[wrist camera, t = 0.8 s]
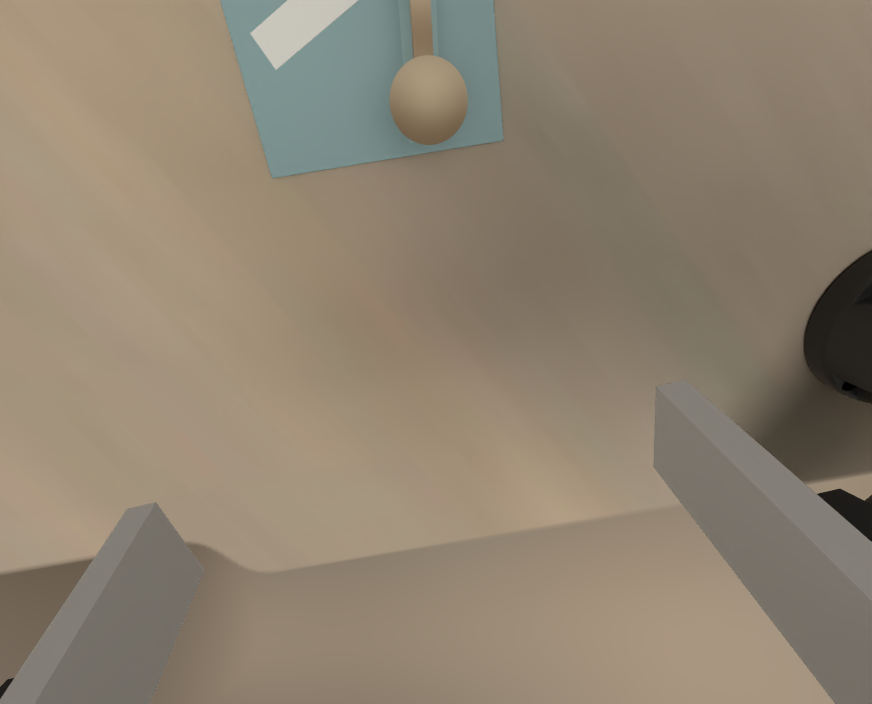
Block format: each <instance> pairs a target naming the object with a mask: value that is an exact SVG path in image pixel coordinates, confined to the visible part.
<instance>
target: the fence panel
mask: <svg viewBox="0 0 872 704" xmlns="http://www.w3.org/2000/svg"><path fill="white" fill-rule="evenodd" d="M409 2H410V17H411V31H412V46H413V59H412V60H410V61H408V62H407V63H406V64H405V65H403V66H402V67H401V69H400V70H399V71H398V73H397V74H396V76H395V78H394V80H393V83H392V86H391V90H390V98H389V99H390V110H391V114H392V117H393V119H394V122H395V124H396V125H397V127H398V128H399V130H400V131H401V132H402V133H403V134H404V135H405V136H406V137H407V138H409V139H410V140H412V141H414V142H416V143H419V144H423V145H435V144H439V143H442V142H444V141H446V140H448V139H449V138H451V137H452V136H453V135H454V134H455V133H456V132H457V131H458V130H459V128H460V127H461V125H462V123H463V121H464V119H465V116H466V112H467V107H468V94H467V89H466V85H465V82H464V80H463V78H462V76H461V74H460V73H459V71H458V70H457V69H456V68H455V67H454V66H453V65H452V64H451V63H450V62H448V61H447V60H445V59H443V58H441V57H438V56H433V39H432V20H431V0H409Z"/></svg>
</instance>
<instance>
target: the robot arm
mask: <svg viewBox="0 0 872 704" xmlns="http://www.w3.org/2000/svg"><path fill="white" fill-rule="evenodd" d="M805 355H806V360H807V363H808V365H809V367H810V369H811V371H812V372H813V374H814V375H815V376H816V377H817V378H818V379H819V380H820V381H822V382H823V383H825V384H827V385H828V386H830V387H832V388H833V389H835V390H837V391H838V392H840V393H842V394H843V395H846V396H848V397H850V398H853V399H856V400H860V401H863V402H867V403H871V404H872V252H870V253H869V254H867V255H866V256H864V257H863V258H861V259H860V260H858V261H857V262H856V263H854V264H853V265H852V266H851V267H850V268H848V269H847V270H846V271H845V272H844V273H843V274H842V275H841V276H840V277H839V278H838V279H837V280H836V281H835V282H834V283H833V284H832V285H831V287H830V288H829V289H828V290H827V292H826V293H825V294H824V296H823V297H822V299H821V300H820V302H819V303H818V305H817V307H816V309H815V310H814V312H813V315H812V317H811V319H810V322H809V325H808V328H807V332H806V337H805ZM654 468H655V469H656V471H657V472H658V473H659V475H660V476H661V477H662V478H663V480H664V481H665V482H666V484H667V485H668V486H669V488H670V489H671V490H672V492H673V493H674V494H675V495H676V497H677V498H678V499H679V501H680V502H681V503H682V505H683V506H684V507H685V508H686V510H687V511H688V512H689V514H690V515H691V516H692V518H693V519H694V520H695V522H696V523H697V524H698V525H699V527H700V528H701V529H702V530H703V532H704V533H705V535H706V536H707V537H708V538H709V540H710V541H711V542H712V544H713V545H714V546H715V548H716V549H717V550H718V552H719V553H720V554H721V555H722V557H723V558H724V559H725V561H726V562H727V563H728V565H729V566H730V567H731V568H732V570H733V571H734V572H735V574H736V575H737V576H738V578H739V579H740V580H741V581H742V583H743V584H744V585H745V587H746V588H747V589H748V591H749V592H750V593H751V595H752V596H753V597H754V598H755V600H756V601H757V602H758V604H759V605H760V606H761V607H762V609H763V610H764V611H765V613H766V614H767V615H768V617H769V618H770V619H771V621H772V622H773V623H774V625H775V626H776V627H777V628H778V630H779V631H780V632H781V634H782V635H783V636H784V637H785V639H786V640H787V642H788V643H789V644H790V645H791V647H792V648H793V649H794V651H795V652H796V653H797V654H798V656H799V657H800V658H801V660H802V661H803V662H804V664H805V665H806V666H807V668H808V669H809V670H810V672H811V673H812V674H813V675H814V677H815V678H816V679H817V681H818V682H819V683H820V684H821V686H822V687H823V688H824V690H825V691H826V692H827V694H828V695H829V696H830V698H831V699H832V700H833V701H834V703H835V704H872V495H871V496H870V497H869V498H867V499H866V500H865V501H864V500H862V499H860V498H857V497H856V496H854V495H852V494H850V493H848V492H846V491H844V490H841V489H837V490H832V491H828V492H823V493H819V494H816V493H815V492H814V491H813V490H811V489H810V488H809V487H808V486H807V485H806V484H805V483H803V482H802V481H801V480H800V479H799V478H798V477H797V476H795V475H794V474H793V473H792V472H791V471H790V470H788V469H787V468H786V467H785V466H784V465H783V464H782V463H780V462H779V461H778V460H777V459H776V458H775V457H774V456H772V455H771V454H770V453H769V452H768V451H767V450H766V449H764V448H763V447H762V446H761V445H760V444H759V443H758V442H756V441H755V440H754V439H753V438H752V437H751V436H750V435H748V434H747V433H746V432H745V431H744V430H743V429H742V428H740V427H739V426H738V425H737V424H736V423H735V422H733V421H732V420H731V419H730V418H729V417H728V416H727V415H725V414H724V413H723V412H722V411H721V410H720V409H719V408H717V407H716V406H715V405H714V404H713V403H712V402H711V401H709V400H708V399H707V398H706V397H705V396H704V395H703V394H701V393H700V392H699V391H698V390H697V389H696V388H695V387H693V386H692V385H691V384H690V383H689V382H688V381H686V380H682V381H678V382H674V383H669V384H665V385H661V386H656V403H655V435H654ZM203 572H204V569H203V567H202V566H201V564H200V563H199V562H198V560H197V559H196V557H195V556H194V555H193V553H192V552H191V551H190V549H189V548H188V546H187V545H186V543H185V542H184V541H183V539H182V538H181V537H180V535H179V534H178V532H177V531H176V530H175V528H174V527H173V525H172V524H171V523H170V521H169V520H168V518H167V517H166V516H165V514H164V513H163V511H162V510H161V509H160V507H159V506H158V505H157V503H156V502H155V503H151V504H147V505H142V506H138V507H134V508H129V509H127V510H126V512H125V513H124V515H123V516H122V518H121V519H120V521H119V522H118V524H117V525H116V527H115V528H114V530H113V531H112V533H111V534H110V536H109V537H108V539H107V540H106V542H105V543H104V545H103V546H102V548H101V549H100V551H99V552H98V554H97V555H96V557H95V558H94V560H93V561H92V563H91V564H90V566H89V567H88V568H87V570H86V572H85V573H84V575H83V576H82V578H81V579H80V580H79V582H78V583H77V585H76V587H75V588H74V589H73V591H72V593H71V594H70V596H69V597H68V598H67V600H66V602H65V603H64V604H63V606H62V608H61V609H60V610H59V612H58V613H57V615H56V617H55V618H54V619H53V621H52V623H51V624H50V626H49V627H48V628H47V630H46V631H45V633H44V634H43V636H42V638H41V639H40V640H39V642H38V643H37V645H36V646H35V648H34V649H33V651H32V652H31V654H30V655H29V657H28V658H27V660H26V661H25V663H24V664H23V666H22V667H21V669H20V670H19V672H18V674H17V675H16V677H15V678H12V679H8V680H7V681H6V682H5V683H4V684H3V685H2V686H1V687H0V704H150V702H151V700H152V697H153V695H154V692H155V690H156V687H157V685H158V683H159V680H160V677H161V675H162V673H163V670H164V668H165V665H166V663H167V660H168V658H169V655H170V653H171V650H172V648H173V646H174V643H175V640H176V638H177V636H178V633H179V631H180V628H181V626H182V623H183V621H184V618H185V616H186V614H187V611H188V608H189V606H190V604H191V601H192V599H193V596H194V594H195V591H196V589H197V586H198V583H199V582H200V579H201V577H202V574H203Z"/></svg>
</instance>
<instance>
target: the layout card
mask: <svg viewBox="0 0 872 704" xmlns="http://www.w3.org/2000/svg"><path fill="white" fill-rule="evenodd" d="M220 1H221V4H222V8H223V11H224V15H225V18H226V22H227V25H228V29H229V32H230V35H231V39H232V42H233V46H234V49H235V53H236V56H237V59H238V63H239V66H240V70H241V73H242V77H243V80H244V84H245V87H246V90H247V94H248V97H249V101H250V104H251V108H252V111H253V114H254V118H255V121H256V125H257V128H258V132H259V135H260V139H261V142H262V145H263V149H264V152H265V156H266V159H267V163H268V166H269V169H270V173H271V176H272V178H277V177H283V176H289V175H295V174H301V173H307V172H313V171H320V170H326V169H332V168H338V167H344V166H350V165H356V164H362V163H368V162H375V161H381V160H387V159H393V158H399V157H405V156H411V155H417V154H423V153H430V152H436V151H442V150H448V149H454V148H460V147H466V146H472V145H478V144H485V143H491V142H497V141H503V126H502V113H501V99H500V85H499V71H498V58H497V44H496V30H495V16H494V2H493V0H431V20H432V39H433V56H438V57H441V58H443V59H445V60H447V61H448V62H450V63H451V64H452V65H453V66H454V67H455V68H456V69H457V70H458V71H459V73H460V74H461V76H462V78H463V80H464V82H465V85H466V89H467V94H468V107H467V112H466V116H465V119H464V121H463V123H462V125H461V127H460V128H459V130H458V131H457V132H456V133H455V134H454V135H453V136H452V137H451V138H449V139H448V140H446V141H444V142H442V143H439V144H435V145H423V144H419V143H416V142H414V141H412V140H410V139H409V138H407V137H406V136H405V135H404V134H403V133H402V132H401V131H400V130H399V128H398V127H397V125H396V124H395V122H394V119H393V117H392V114H391V110H390V99H389V98H390V90H391V86H392V83H393V80H394V78H395V76H396V74H397V73H398V71H399V70H400V69H401V67H402V66H403V65H405V64H406V63H407V62H408V61H410V60H412V59H413V46H412V31H411V17H410V2H409V0H220Z"/></svg>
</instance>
